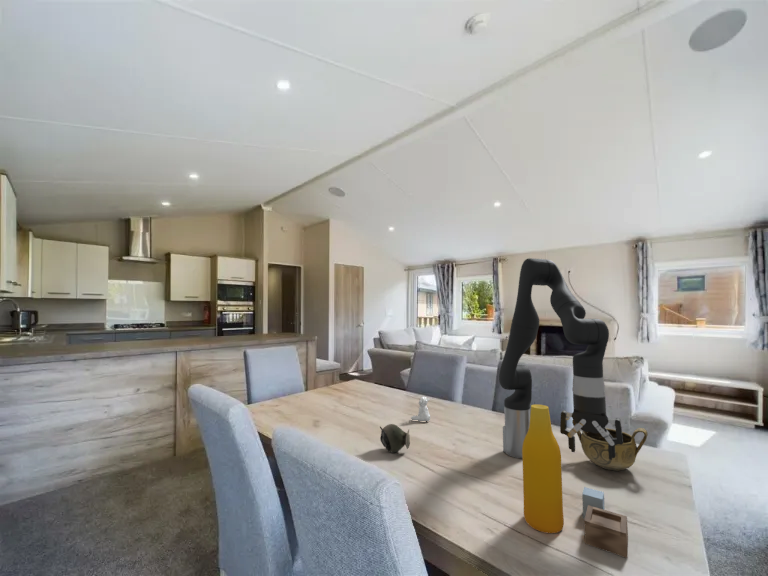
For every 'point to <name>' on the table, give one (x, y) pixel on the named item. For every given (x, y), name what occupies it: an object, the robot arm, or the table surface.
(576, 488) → the table surface
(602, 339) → the robot arm
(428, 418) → the sitting furry creature
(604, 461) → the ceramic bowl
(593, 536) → the walnut base
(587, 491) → the lid block
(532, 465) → the beer bottle
